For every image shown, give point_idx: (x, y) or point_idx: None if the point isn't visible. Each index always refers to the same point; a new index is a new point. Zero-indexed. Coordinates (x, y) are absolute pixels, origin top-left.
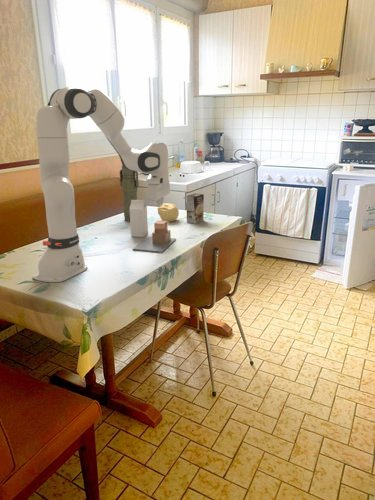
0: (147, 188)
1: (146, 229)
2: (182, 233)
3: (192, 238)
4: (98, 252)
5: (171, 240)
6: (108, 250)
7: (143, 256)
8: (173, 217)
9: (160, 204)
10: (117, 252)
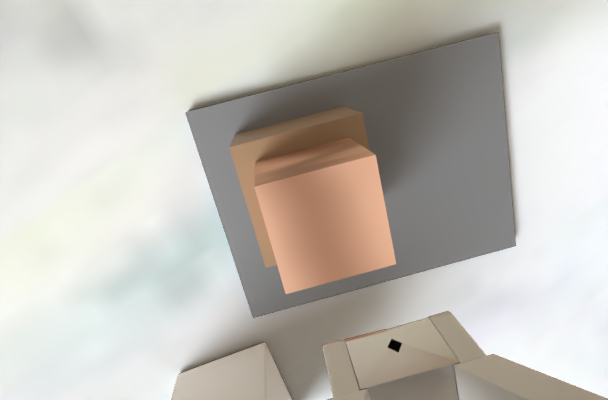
0: None
1: (203, 389)
2: (4, 164)
3: (62, 4)
4: (597, 365)
5: (247, 116)
6: (555, 346)
7: (585, 110)
8: None
9: (472, 338)
10: (569, 287)
